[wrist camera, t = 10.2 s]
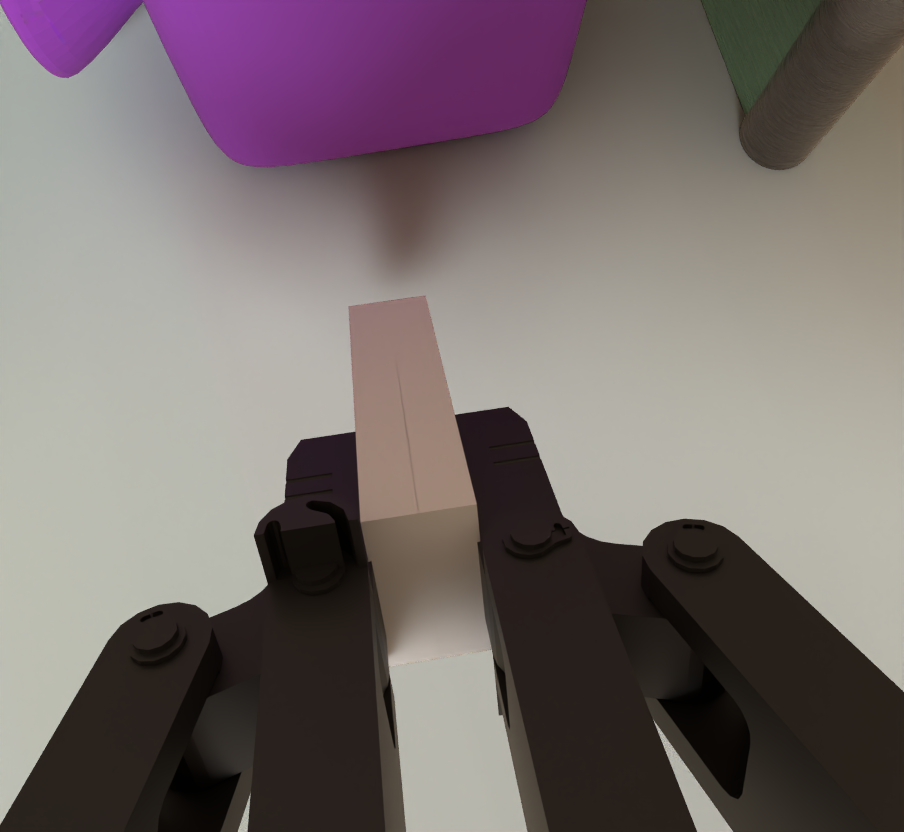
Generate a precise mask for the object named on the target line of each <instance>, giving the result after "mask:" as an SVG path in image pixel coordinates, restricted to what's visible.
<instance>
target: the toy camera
mask: <svg viewBox="0 0 904 832" xmlns="http://www.w3.org/2000/svg"><path fill="white" fill-rule="evenodd" d="M586 1H587V0H0V4H1V6H2V8H3V10H4V12H5V14H6V16H7V18H8V19H9V21H10V23H11V24H12V26H13V27H14V29H15V31H16V32H17V34H18V36H19V37H20V39H21V40H22V42H23V43H24V45H25V46H26V47H27V49H28V50H29V51H30V53H31V54H32V55H33V57H34V58H35V59H36V60H37V61H38V62H39V63H40V64H41V65H42V66H43V67H44V68H45V69H47V70H48V71H49V72H50V73H52V74H53V75H55V76H58V77H62V78H69V77H71V76H73V75H75V74H77V73H79V72H80V71H81V70H82V69H83V68H85V67H86V66H87V65H88V64H89V63H90V62H92V60H93V59H94V58H95V57H96V56H97V55H98V54H99V53H100V52H101V51H102V50H103V49H104V48H105V46H106V45H107V44H108V43H109V42H110V41H111V40H112V38H113V37H114V36H115V35H116V34H117V32H118V31H119V30H120V29H121V27H122V26H123V25H124V24H125V22H126V21H127V20H128V19H129V18H130V16H131V15H132V14H133V13H134V11H135V10H136V9H137V8H138V7H139V6H140V5H141V4H142V3H143V2H144V4H145V7H146V9H147V11H148V13H149V15H150V17H151V20H152V22H153V24H154V26H155V28H156V31H157V33H158V35H159V37H160V39H161V42H162V44H163V46H164V48H165V50H166V52H167V54H168V56H169V58H170V60H171V62H172V64H173V66H174V68H175V70H176V72H177V74H178V77H179V79H180V81H181V83H182V85H183V87H184V89H185V91H186V93H187V95H188V97H189V99H190V101H191V103H192V105H193V107H194V109H195V110H196V112H197V114H198V116H199V118H200V120H201V121H202V123H203V125H204V127H205V128H206V130H207V132H208V133H209V135H210V136H211V138H212V139H213V141H214V142H215V144H216V145H217V146H218V147H219V148H220V149H221V150H222V151H223V152H224V153H225V154H226V155H227V156H228V157H229V158H230V159H232V160H234V161H236V162H238V163H240V164H243V165H247V166H254V167H275V166H286V165H295V164H302V163H308V162H315V161H322V160H329V159H336V158H342V157H348V156H355V155H361V154H367V153H373V152H379V151H385V150H392V149H398V148H404V147H410V146H416V145H423V144H429V143H435V142H441V141H447V140H453V139H459V138H464V137H470V136H476V135H481V134H487V133H493V132H498V131H502V130H507V129H511V128H515V127H519V126H522V125H524V124H527V123H530V122H532V121H535V120H536V119H538V118H539V117H541V116H542V115H544V114H545V113H546V112H547V111H548V110H549V109H550V108H551V107H552V105H553V103H554V102H555V100H556V99H557V97H558V95H559V93H560V91H561V88H562V86H563V83H564V80H565V77H566V74H567V71H568V67H569V64H570V61H571V57H572V54H573V50H574V46H575V43H576V39H577V35H578V31H579V27H580V24H581V20H582V16H583V12H584V8H585V5H586Z"/></svg>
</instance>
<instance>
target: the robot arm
mask: <svg viewBox="0 0 904 832" xmlns="http://www.w3.org/2000/svg"><path fill="white" fill-rule="evenodd" d="M349 321H350V339H351V357H352V376H353V394H354V413H355V431H356V432H351V433H344V434H337V435H331V436H324V437H317V438H311V439H304V440H301V441H300V442H299V444H298V445H297V447H296V448H295V449H294V451H293V452H292V454H291V455H290V457H289V458H288V459H287V473H286V483H287V484H286V488H285V502H284V503H283V504H281V505H279V506H277V507H276V508H274V509H272V510H271V511H270V512H269V513H268V514H267V515H266V516H265V517H264V518H263V519H262V520H261V521H260V522H259V524H258V526H257V529H256V531H255V534H254V538H255V541H256V545H257V548H258V552H259V555H260V558H261V562H262V565H263V569H264V572H265V575H266V579H267V582H268V585H267V586H266V587H265V589H264V590H263V591H261V592H260V593H259V594H257V595H256V596H255V597H253V598H252V599H251V600H249V601H247V602H245V603H243V604H241V605H239V606H237V607H235V608H232V609H230V610H227V611H225V612H222V613H220V614H218V615H215V616H213V617H210V618H209V617H208V614H207V613H206V612H204V611H203V610H201V609H200V608H199V607H197V606H196V605H191V604H185V603H180V602H177V603H169V604H162V605H157V606H155V607H152V608H150V609H147V610H145V611H142V612H140V613H138V614H136V615H135V616H134V617H132V618H131V619H129V620H128V621H126V622H125V623H124V624H122V625H121V626H120V627H119V628H118V629H117V631H116V632H115V633H114V634H113V636H112V637H111V638H110V639H109V640H108V642H107V644H106V645H105V647H104V649H103V650H102V652H101V654H100V656H99V657H98V659H97V661H96V662H95V664H94V666H93V668H92V669H91V671H90V673H89V674H88V676H87V678H86V679H85V681H84V683H83V685H82V686H81V688H80V690H79V691H78V693H77V695H76V697H75V698H74V700H73V702H72V703H71V705H70V707H69V709H68V710H67V712H66V714H65V715H64V717H63V719H62V720H61V722H60V724H59V726H58V727H57V729H56V731H55V732H54V734H53V736H52V738H51V739H50V741H49V743H48V744H47V746H46V748H45V750H44V751H43V753H42V755H41V756H40V758H39V760H38V761H37V763H36V765H35V767H34V768H33V770H32V772H31V773H30V775H29V777H28V779H27V780H26V782H25V784H24V785H23V787H22V789H21V791H20V792H19V794H18V796H17V797H16V799H15V801H14V802H13V804H12V806H11V808H10V809H9V811H8V813H7V814H6V816H5V818H4V820H3V821H2V823H1V825H0V832H238V829H239V826H240V823H241V820H242V817H243V814H244V811H245V808H246V805H247V802H248V799H249V796H250V793H251V797H250V809H249V822H248V832H406V826H405V815H404V804H403V792H402V781H401V769H400V758H399V747H398V735H397V724H396V712H395V701H394V694H393V689H392V684H391V679H390V674H389V667H391V666H397V665H403V664H409V663H415V662H421V661H427V660H433V659H439V658H445V657H451V656H457V655H463V654H469V653H475V652H481V651H487V650H491V648H492V652H493V659H494V669H495V680H496V690H497V700H498V710H499V715H503V718H504V722H505V727H506V732H507V737H508V741H509V746H510V751H511V756H512V760H513V765H514V770H515V774H516V779H517V784H518V789H519V793H520V798H521V803H522V808H523V812H524V817H525V822H526V826H527V831H528V832H697V830H696V828H695V825H694V823H693V820H692V818H691V815H690V813H689V810H688V807H687V805H686V802H685V800H684V797H683V795H682V792H681V790H680V787H679V785H678V782H677V779H676V777H675V774H674V772H673V769H672V767H671V764H670V762H669V759H668V756H667V754H666V751H665V749H664V746H663V744H662V741H661V739H660V736H659V734H658V731H657V728H656V726H655V723H654V721H655V722H656V724H657V725H658V727H659V728H660V729H661V731H662V732H663V734H664V735H665V736H666V738H667V739H668V741H669V742H670V743H671V745H672V746H673V748H674V749H675V750H676V752H677V753H678V755H679V756H680V757H681V759H682V760H683V762H684V763H685V764H686V766H687V767H688V769H689V770H690V771H691V773H692V774H693V776H694V777H695V778H696V780H697V781H698V783H699V784H700V785H701V787H702V788H703V790H704V791H705V792H706V794H707V795H708V797H709V798H710V799H711V801H712V802H713V804H714V805H715V806H716V808H717V809H718V811H719V812H720V813H721V815H722V816H723V818H724V819H725V820H726V822H727V823H728V825H729V826H730V828H731V829H732V830H733V832H904V692H903V691H902V690H901V689H900V688H899V687H898V686H897V685H896V684H895V683H894V682H893V681H891V680H890V679H889V678H888V677H887V676H886V675H885V674H884V673H883V672H882V671H881V670H880V669H879V668H878V667H877V666H876V665H874V664H873V663H872V662H871V661H870V660H869V659H868V658H867V657H866V656H865V655H864V654H863V653H862V652H861V651H860V650H859V649H857V648H856V647H855V646H854V645H853V644H852V643H851V642H850V641H849V640H848V639H847V638H846V637H845V636H844V635H843V634H842V633H840V632H839V631H838V630H837V629H836V628H835V627H834V626H833V625H832V624H831V623H830V622H829V621H828V620H827V619H826V618H825V617H823V616H822V615H821V614H820V613H819V612H818V611H817V610H816V609H815V608H814V607H813V606H812V605H811V604H810V603H809V602H808V601H806V600H805V599H804V598H803V597H802V596H801V595H800V594H799V593H798V592H797V591H796V590H795V589H794V588H793V587H792V586H791V585H789V584H788V583H787V582H786V581H785V580H784V579H783V578H782V577H781V576H780V575H779V574H778V573H777V572H776V571H775V570H774V569H772V568H771V567H770V566H769V565H768V564H767V563H766V562H765V561H764V560H763V559H762V558H761V557H760V556H759V555H758V554H756V553H755V552H754V551H753V550H752V549H751V548H750V547H749V546H748V545H747V544H746V543H745V542H744V541H743V540H742V539H741V538H739V537H738V536H737V535H735V534H734V533H732V532H731V531H729V530H728V529H726V528H725V527H723V526H721V525H717V524H714V523H711V522H708V521H705V520H694V519H680V520H675V521H670V522H665V523H663V524H662V525H660V526H658V527H656V528H654V529H653V530H651V531H650V533H649V534H648V536H647V537H646V538H645V540H644V541H643V546H637V545H624V544H614V543H607V542H601V541H598V540H595V539H592V538H589V537H586V536H585V535H583V534H581V533H579V531H578V530H577V528H576V527H575V526H574V524H573V523H572V522H571V521H570V520H568V519H566V518H565V517H563V515H562V513H561V511H560V508H559V505H558V503H557V500H556V497H555V495H554V492H553V490H552V487H551V484H550V482H549V479H548V476H547V474H546V471H545V468H544V466H543V463H542V461H541V459H540V456H539V453H538V450H537V447H536V445H535V444H534V440H533V437H532V434H531V432H530V429H529V426H528V424H527V421H525V420H524V419H523V418H522V417H520V416H519V415H518V414H517V413H515V412H514V411H513V410H512V409H510V408H509V407H504V408H497V409H491V410H484V411H477V412H471V413H464V414H457V415H455V414H454V410H453V406H452V402H451V398H450V394H449V390H448V386H447V382H446V378H445V373H444V369H443V365H442V361H441V357H440V353H439V349H438V345H437V341H436V337H435V333H434V329H433V325H432V321H431V317H430V313H429V309H428V305H427V300H426V296H419V297H412V298H405V299H398V300H391V301H384V302H377V303H370V304H363V305H355V306H349ZM653 719H654V721H653Z"/></svg>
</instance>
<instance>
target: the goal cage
mask: <svg viewBox="0 0 904 832" xmlns="http://www.w3.org/2000/svg"><path fill="white" fill-rule="evenodd" d="M701 1H702V4H703V6H704V9H705V12H706V14H707V17H708V19H709V22H710V25H711V27H712V30H713V32H714V35H715V38H716V40H717V43H718V45H719V48H720V51H721V53H722V56H723V58H724V61H725V64H726V66H727V69H728V71H729V74H730V77H731V79H732V82H733V84H734V87H735V90H736V92H737V95H738V97H739V100H740V103H741V105H742V108H743V110H744V113H745V118H744V119H743V121H742V123H741V127H740V141H741V144H742V146H743V148H744V150H745V152H746V153H747V154H748V156H749V157H750V158H751V159H752V160H754V161H755V162H756V163H758V164H760V165H761V166H764V167H766V168H770V169H775V170H784V169H789V168H792V167H795V166H797V165H798V164H800V163H801V162H802V161H804V159H805V158H806V157H807V156H808V155H809V154H810V152H811V151H812V150H813V149H814V148H815V147H816V145H817V144H818V143H819V142H820V141H821V140H822V138H823V137H824V136H825V135H826V134H827V133H828V131H829V130H830V129H831V128H832V127H833V126H834V124H835V123H836V122H837V121H838V120H839V118H840V117H841V116H842V115H843V114H844V113H845V111H846V110H847V109H848V108H849V107H850V106H851V104H852V103H853V102H854V101H855V100H856V99H857V97H858V96H859V95H860V94H861V93H862V92H863V90H864V89H865V88H866V87H867V86H868V85H869V83H870V82H871V81H872V80H873V79H874V78H875V76H876V75H877V74H878V73H879V72H880V70H881V69H882V68H883V67H884V66H885V65H886V63H887V62H888V61H889V60H890V59H891V58H892V56H893V55H894V54H895V53H896V52H897V51H898V49H899V48H900V47H901V46H902V45H903V44H904V0H701Z"/></svg>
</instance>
